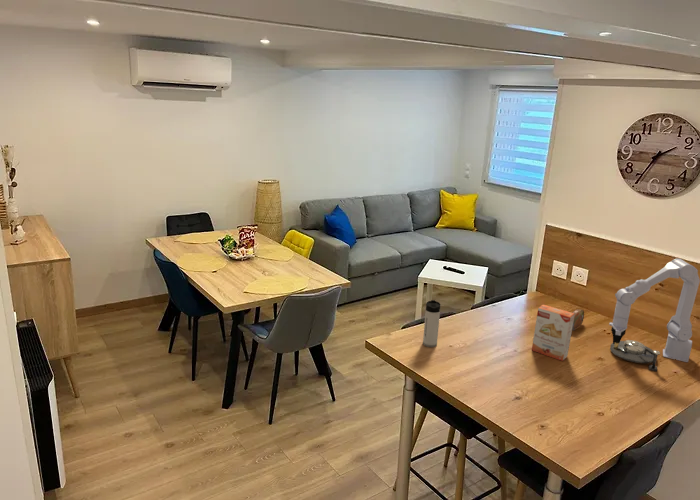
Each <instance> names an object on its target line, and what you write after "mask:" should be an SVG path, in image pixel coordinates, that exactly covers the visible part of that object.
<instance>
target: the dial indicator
mask: <svg viewBox="0 0 700 500" xmlns="http://www.w3.org/2000/svg"><path fill="white" fill-rule="evenodd" d="M646 352H649V353H650V354H652V355H654V358H653V362H652V363H651V364H648V371H653V372H658V366H656V365H657V360H658V355H660V354H661V352H660V351H659V350H655V349H653V352H652V351H651V350H649V349H647V348H645V351H644V354H645V355H646Z"/></svg>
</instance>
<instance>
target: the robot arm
mask: <svg viewBox="0 0 700 500" xmlns="http://www.w3.org/2000/svg"><path fill="white" fill-rule="evenodd" d="M698 272H699V270H698V269H697V268H696V267H695V266H694V265H692V264H690V263H689V262H686V261H685V260H683V259H682V258H675V259H672V260H671V261H669V262H667V263H666V265H665V266H663V268H662V267H661V269H660V270H658V271H657V272H655V273H653V274H652V275H650V276H649V277H648V278H646V279H637V280H635V282H634V283H632V284H630V285H629V286H626V287H625V288H620V289H618V290H617V292H615V293H614V294H615V295H614V297H615V298H616V303H615V309H614V314H613V317H612V322H609V324H608V326H611V329H610V332H611V335H612V343H613V344H615V342H618V343H620V341H622V338H623V337H624V336H625V335H626V333H627V332H626V331H627V329H628V322H629V317H630V312H631V308H632V305H633V304H634V303H636V300H637V299H638V298H639V297H641V296H643V295H644V294H646V293H648V292H649V291H651V287H653V286H655V285H656V284H658V283H661V282H663V281H665V280H667V279H668V278H672V279H681V280H682V281H683V284H682V288H681V292H680V295H679V299H678V302H677V307H676V310H675V314H674V315H672V316H670V317H671V318H670V320H669V322H668V323H667V324H666V329H667V331H668V335H667V338H666V344H665V347H664V348H663V349H662V357H663V358H667V359H672V360H675V359H676V361H680V362H684V363H689V361H690V360H689V359H690V355H691V352H692V351H691V350H692V347H693V340H691V338H692V336H693V331H692V328H693V325H692V321H691V316H692V312H693V307H694V305H695V300H696V298H697V297H696V296H697V293H698V290H699V285H700V277H699V273H698Z"/></svg>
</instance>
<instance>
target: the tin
mask: <svg viewBox="0 0 700 500" xmlns="http://www.w3.org/2000/svg"><path fill="white" fill-rule="evenodd" d="M571 313H574V314H575V316H574V322H573V327H572V331H576V330H577V329H578V328H579V327H581V326H582V324H583V322H584V318H585V311H584V310H583V309H580V308H577V309H575V310H574V311H572V312H571Z"/></svg>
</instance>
